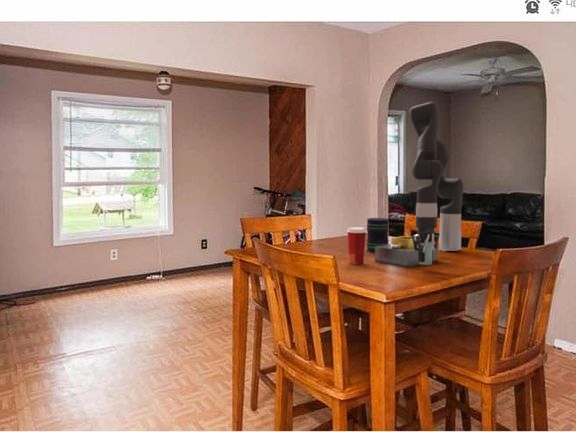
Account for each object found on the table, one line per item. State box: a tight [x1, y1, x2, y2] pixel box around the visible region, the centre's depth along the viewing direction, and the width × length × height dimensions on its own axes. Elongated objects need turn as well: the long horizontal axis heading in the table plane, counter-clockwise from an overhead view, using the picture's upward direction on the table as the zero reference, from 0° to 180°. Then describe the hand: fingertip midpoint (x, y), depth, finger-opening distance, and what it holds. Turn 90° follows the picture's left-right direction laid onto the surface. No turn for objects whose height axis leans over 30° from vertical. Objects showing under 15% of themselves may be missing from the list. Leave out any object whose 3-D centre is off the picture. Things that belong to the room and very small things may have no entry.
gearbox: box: [374, 235, 439, 268], centre depth 191 cm, size 20×16×10 cm
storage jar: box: [366, 217, 390, 254], centre depth 214 cm, size 10×10×15 cm
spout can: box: [419, 242, 433, 266], centre depth 172 cm, size 4×4×10 cm
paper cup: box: [346, 226, 367, 265], centre depth 187 cm, size 8×8×14 cm
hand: (425, 260), depth 172 cm, fingers closed on spout can, 4 cm apart
